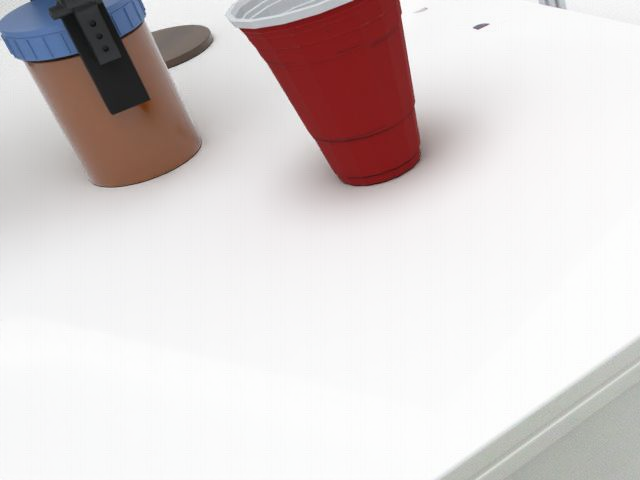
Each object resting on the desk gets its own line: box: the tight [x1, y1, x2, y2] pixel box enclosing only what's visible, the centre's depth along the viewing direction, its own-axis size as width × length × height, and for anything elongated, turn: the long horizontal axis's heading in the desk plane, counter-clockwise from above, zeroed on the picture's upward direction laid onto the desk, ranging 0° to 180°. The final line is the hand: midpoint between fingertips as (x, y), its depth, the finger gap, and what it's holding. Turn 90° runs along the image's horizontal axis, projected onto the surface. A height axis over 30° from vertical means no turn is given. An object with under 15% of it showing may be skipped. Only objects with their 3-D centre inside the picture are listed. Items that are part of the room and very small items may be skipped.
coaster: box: [150, 24, 214, 69], centre depth 97 cm, size 10×10×1 cm
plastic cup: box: [224, 0, 421, 186], centre depth 68 cm, size 11×11×12 cm
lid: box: [0, 0, 147, 62], centre depth 73 cm, size 9×9×2 cm
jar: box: [21, 18, 202, 188], centre depth 76 cm, size 8×8×11 cm
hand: (110, 89), depth 76 cm, fingers closed on lid, 9 cm apart
